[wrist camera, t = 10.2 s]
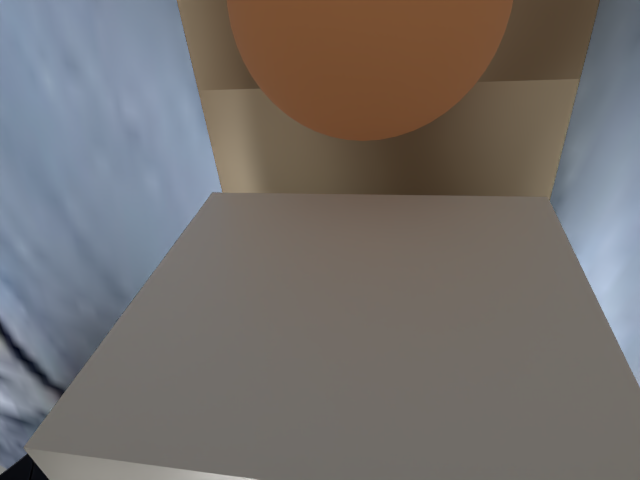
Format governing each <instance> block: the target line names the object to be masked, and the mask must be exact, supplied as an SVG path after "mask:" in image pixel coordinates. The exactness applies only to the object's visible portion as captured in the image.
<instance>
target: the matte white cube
mask: <svg viewBox="0 0 640 480" xmlns="http://www.w3.org/2000/svg"><path fill="white" fill-rule="evenodd" d="M24 449H25V451H26V452H27V453H28V454H29V456H30V457H31V458H32V459H33V460H34V462H35V463H36V464H37V465H38V467H39V468H40V469H41V470H42V471H43V473H44V474H45V475H46V476H47V478H48V479H49V480H640V388H639V385H638V383H637V381H636V379H635V377H634V375H633V373H632V371H631V369H630V367H629V365H628V363H627V361H626V359H625V356H624V354H623V352H622V350H621V348H620V346H619V344H618V342H617V340H616V338H615V336H614V334H613V332H612V329H611V327H610V325H609V323H608V321H607V319H606V317H605V315H604V313H603V311H602V309H601V307H600V305H599V303H598V300H597V298H596V296H595V294H594V292H593V290H592V288H591V286H590V284H589V282H588V280H587V278H586V276H585V273H584V271H583V269H582V267H581V265H580V263H579V261H578V259H577V257H576V255H575V253H574V251H573V249H572V247H571V244H570V242H569V240H568V238H567V236H566V234H565V232H564V230H563V228H562V226H561V224H560V222H559V220H558V217H557V215H556V213H555V211H554V209H553V207H552V205H551V203H550V201H549V199H548V197H523V196H447V195H370V194H293V193H216V192H212V194H211V195H210V196H209V198H208V199H207V200H206V202H205V203H204V204H203V206H202V207H201V208H200V210H199V211H198V213H197V214H196V215H195V217H194V218H193V219H192V221H191V222H190V223H189V225H188V226H187V227H186V229H185V230H184V231H183V233H182V234H181V235H180V237H179V238H178V240H177V241H176V242H175V244H174V245H173V246H172V248H171V249H170V250H169V252H168V253H167V254H166V256H165V257H164V258H163V260H162V261H161V262H160V264H159V265H158V267H157V268H156V269H155V271H154V272H153V273H152V275H151V276H150V277H149V279H148V280H147V281H146V283H145V284H144V285H143V287H142V288H141V290H140V291H139V292H138V294H137V295H136V296H135V298H134V299H133V300H132V302H131V303H130V304H129V306H128V307H127V308H126V310H125V311H124V312H123V314H122V315H121V317H120V318H119V319H118V321H117V322H116V323H115V325H114V326H113V327H112V329H111V330H110V331H109V333H108V334H107V335H106V337H105V338H104V339H103V341H102V342H101V344H100V345H99V346H98V348H97V349H96V350H95V352H94V353H93V354H92V356H91V357H90V358H89V360H88V361H87V362H86V364H85V365H84V367H83V368H82V369H81V371H80V372H79V373H78V375H77V376H76V377H75V379H74V380H73V381H72V383H71V384H70V385H69V387H68V388H67V389H66V391H65V392H64V394H63V395H62V396H61V398H60V399H59V400H58V402H57V403H56V404H55V406H54V407H53V408H52V410H51V411H50V412H49V414H48V415H47V416H46V418H45V419H44V421H43V422H42V423H41V425H40V426H39V427H38V429H37V430H36V431H35V433H34V434H33V435H32V437H31V438H30V439H29V441H28V442H27V444H26V445H25V446H24Z"/></svg>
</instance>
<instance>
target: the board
mask: <svg viewBox="0 0 640 480" xmlns="http://www.w3.org/2000/svg"><path fill="white" fill-rule="evenodd" d="M599 2H600V0H513V4H512V10H511V14H510V17H509V20H508V24H507V27H506V30H505V33H504V35H503V38H502V40H501V42H500V45H499V47H498V49H497V51H496V53H495V55H494V57H493V59H492V60H491V62H490V64H489V65H488V67H487V69H486V71H485V72H484V73H483V75H482V76H481V77H480V79H479V80H478V81H477V83H476V84H475V85H474V87H473V88H472V89H471V90H470V91H469V92H468V93H467V94H466V95H465V96H464V97H463V98H462V99H461V100H460V101H459V102H458V103H457V104H456V105H454V106H453V107H452V108H451V109H450V110H448V111H447V112H446V113H445V114H443V115H441V116H440V117H438V118H437V119H435V120H434V121H432V122H431V123H429V124H427V125H425V126H422V127H420V128H418V129H416V130H414V131H411V132H408V133H405V134H402V135H399V136H396V137H391V138H386V139H381V140H370V141H356V140H345V139H340V138H335V137H330V136H327V135H324V134H321V133H319V132H316V131H314V130H312V129H310V128H307V127H305V126H303V125H301V124H300V123H298V122H297V121H295V120H294V119H292V118H291V117H289V116H288V115H286V114H285V113H284V112H283V111H282V110H281V109H279V108H278V107H277V106H276V105H275V104H274V103H273V102H272V101H271V100H270V99H269V98H268V97H267V96H266V95H265V93H264V92H263V91H262V90H261V89H260V87H259V86H258V85H257V83H256V82H255V80H254V79H253V78H252V76H251V74H250V73H249V71H248V69H247V67H246V65H245V64H244V62H243V60H242V57H241V55H240V53H239V50H238V48H237V45H236V42H235V39H234V36H233V32H232V29H231V25H230V20H229V14H228V8H227V0H177V3H178V7H179V12H180V16H181V20H182V24H183V28H184V33H185V37H186V41H187V45H188V49H189V54H190V58H191V62H192V66H193V70H194V75H195V79H196V83H197V87H198V91H199V96H200V100H201V104H202V108H203V112H204V117H205V121H206V125H207V129H208V133H209V138H210V142H211V146H212V150H213V154H214V159H215V163H216V167H217V171H218V175H219V180H220V184H221V188H222V192H223V193H293V194H370V195H447V196H523V197H548V199H549V201H550V197H551V193H552V189H553V185H554V181H555V177H556V173H557V169H558V165H559V161H560V157H561V153H562V149H563V145H564V141H565V137H566V133H567V129H568V125H569V121H570V117H571V113H572V109H573V105H574V101H575V97H576V93H577V89H578V85H579V81H580V77H581V74H582V70H583V66H584V62H585V58H586V54H587V50H588V46H589V42H590V38H591V34H592V30H593V26H594V22H595V18H596V14H597V10H598V6H599Z"/></svg>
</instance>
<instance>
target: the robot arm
mask: <svg viewBox="0 0 640 480" xmlns="http://www.w3.org/2000/svg"><path fill="white" fill-rule="evenodd" d="M0 480H49V479H48V478H47V476H46V475H45V474H44V473H43V471H42V470H41V469H40V468H39V467H38V465H37V464H36V463H35V462H34V460H33V459H32V458H31V457H30V456H29V454H28V453H27V454H26V455H25V456H24V457H22V458H21V459H20V460H19V461H17V462H16V463H15V464H14V465H12V466H11V467H10V468H8V469H7V470H6V471H5V472H3V473H2V474H1V475H0Z"/></svg>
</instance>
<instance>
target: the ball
mask: <svg viewBox="0 0 640 480" xmlns="http://www.w3.org/2000/svg"><path fill="white" fill-rule="evenodd" d="M512 4H513V0H227V8H228V14H229V20H230V25H231V29H232V32H233V36H234V39H235V42H236V45H237V48H238V50H239V53H240V55H241V57H242V60H243V62H244V64H245V65H246V67H247V69H248V71H249V73H250V74H251V76H252V78H253V79H254V80H255V82H256V83H257V85H258V86H259V87H260V89H261V90H262V91H263V92H264V93H265V95H266V96H267V97H268V98H269V99H270V100H271V101H272V102H273V103H274V104H275V105H276V106H277V107H278V108H279V109H281V110H282V111H283V112H284V113H285V114H286V115H288V116H289V117H291V118H292V119H294V120H295V121H297V122H298V123H300V124H301V125H303V126H305V127H307V128H310V129H312V130H314V131H316V132H319V133H321V134H324V135H327V136H330V137H335V138H340V139H345V140H356V141H370V140H381V139H386V138H391V137H396V136H399V135H402V134H405V133H408V132H411V131H414V130H416V129H418V128H420V127H422V126H425V125H427V124H429V123H431V122H432V121H434V120H435V119H437V118H438V117H440V116H441V115H443V114H445V113H446V112H447V111H448V110H450V109H451V108H452V107H453V106H454V105H456V104H457V103H458V102H459V101H460V100H461V99H462V98H463V97H464V96H465V95H466V94H467V93H468V92H469V91H470V90H471V89H472V88H473V87H474V85H475V84H476V83H477V81H478V80H479V79H480V77H481V76H482V75H483V73H484V72H485V71H486V69H487V67H488V65H489V64H490V62H491V60H492V59H493V57H494V55H495V53H496V51H497V49H498V47H499V45H500V42H501V40H502V38H503V35H504V33H505V30H506V27H507V24H508V20H509V17H510V14H511V10H512Z"/></svg>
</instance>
